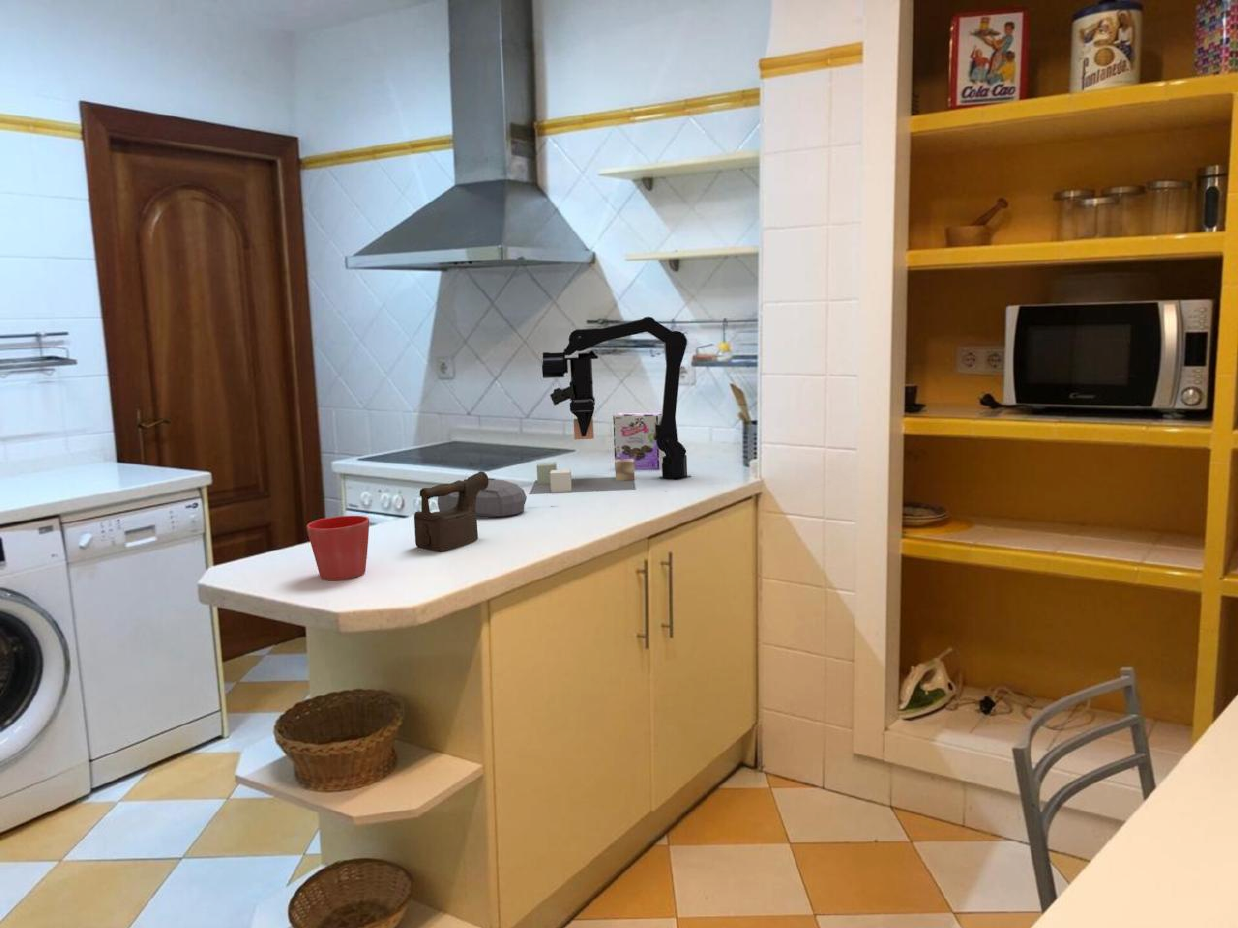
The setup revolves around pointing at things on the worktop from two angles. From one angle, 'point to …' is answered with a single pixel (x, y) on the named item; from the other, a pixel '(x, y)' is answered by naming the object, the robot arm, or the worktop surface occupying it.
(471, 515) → the clothes iron
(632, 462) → the beech block
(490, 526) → the worktop surface
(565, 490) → the taupe block
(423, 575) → the worktop surface
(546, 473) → the sage block
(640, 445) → the candy box
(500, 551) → the worktop surface
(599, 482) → the slate mat
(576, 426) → the terracotta block
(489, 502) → the soft grey pack
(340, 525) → the flower pot
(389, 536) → the worktop surface
